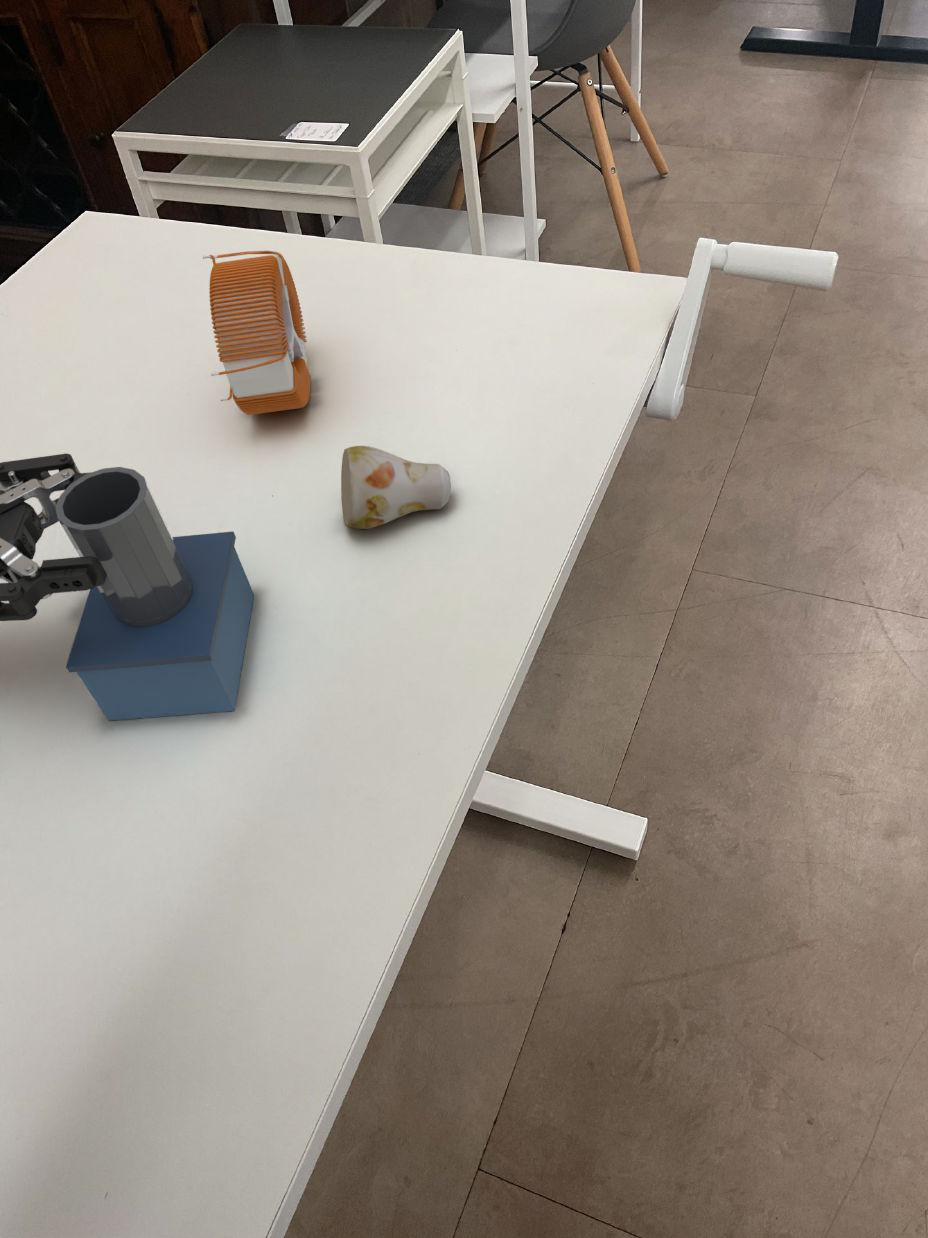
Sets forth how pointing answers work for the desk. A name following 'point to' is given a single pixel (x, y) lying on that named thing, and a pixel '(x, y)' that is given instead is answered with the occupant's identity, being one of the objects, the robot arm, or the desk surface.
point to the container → (171, 642)
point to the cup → (126, 545)
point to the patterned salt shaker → (388, 487)
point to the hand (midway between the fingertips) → (116, 526)
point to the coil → (259, 332)
